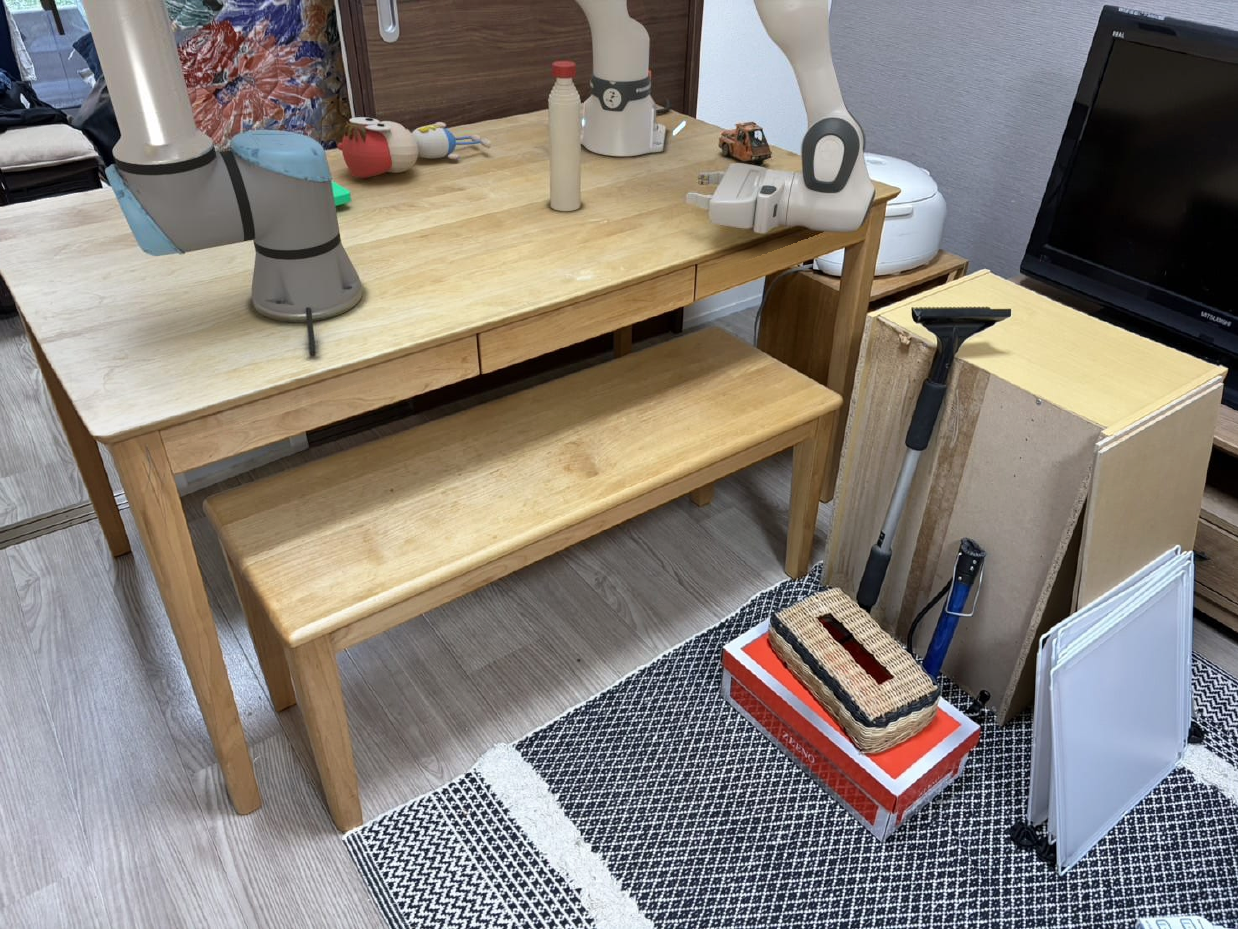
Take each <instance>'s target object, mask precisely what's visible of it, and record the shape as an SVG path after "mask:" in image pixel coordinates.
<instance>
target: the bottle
mask: <svg viewBox="0 0 1238 929" xmlns="http://www.w3.org/2000/svg"><path fill="white" fill-rule="evenodd" d="M555 78H556V77H555ZM555 80H556V81H555V82H554V85H553V86H552V89H551V90H550V94H548V98H547V101H548V103H547V106H548V110H547V111H548V151H549V153H548V154H549V156H548V157H549V158H548V159H549V202H550V208H551V209H553V210H555V211H559V212H572V211H577V210H579V209H580V208H581V206H582V205H581V203H582V202H581V201H582V199H581V197H582V196H581V193H582V192H581V186H582V185H581V181H582V180H581V179H582V178H581V176H582V175H581V169H582V168H581V167H582V166H581V165H582V164H581V162H582V161H581V160H582V158H581V155H582V154H581V152H582V150H581V148H582V147H581V145H582V144H581V133H582V130H581V128H582V127H581V125H582V118H581V117H582V116H581V115H582V114H581V106H582V104H581V103H582V102H581V100H582V99H581V98H580V97H581V96H580V94H579V91H578V90H577V87H576V86H575V83H574V82H573V78H567V79H563V78H556V79H555Z"/></svg>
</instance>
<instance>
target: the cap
mask: <svg viewBox="0 0 1238 929" xmlns="http://www.w3.org/2000/svg"><path fill="white" fill-rule="evenodd" d="M576 65H577V64H576V63H575V62H574V61H569V60H558V61H554V62H552V65H551V66H552V67H551V68H552V69H551V73H552V76H553V77H554V78H563V79H567V78H572V79H574V78H575V77H576V76H577V66H576Z"/></svg>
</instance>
